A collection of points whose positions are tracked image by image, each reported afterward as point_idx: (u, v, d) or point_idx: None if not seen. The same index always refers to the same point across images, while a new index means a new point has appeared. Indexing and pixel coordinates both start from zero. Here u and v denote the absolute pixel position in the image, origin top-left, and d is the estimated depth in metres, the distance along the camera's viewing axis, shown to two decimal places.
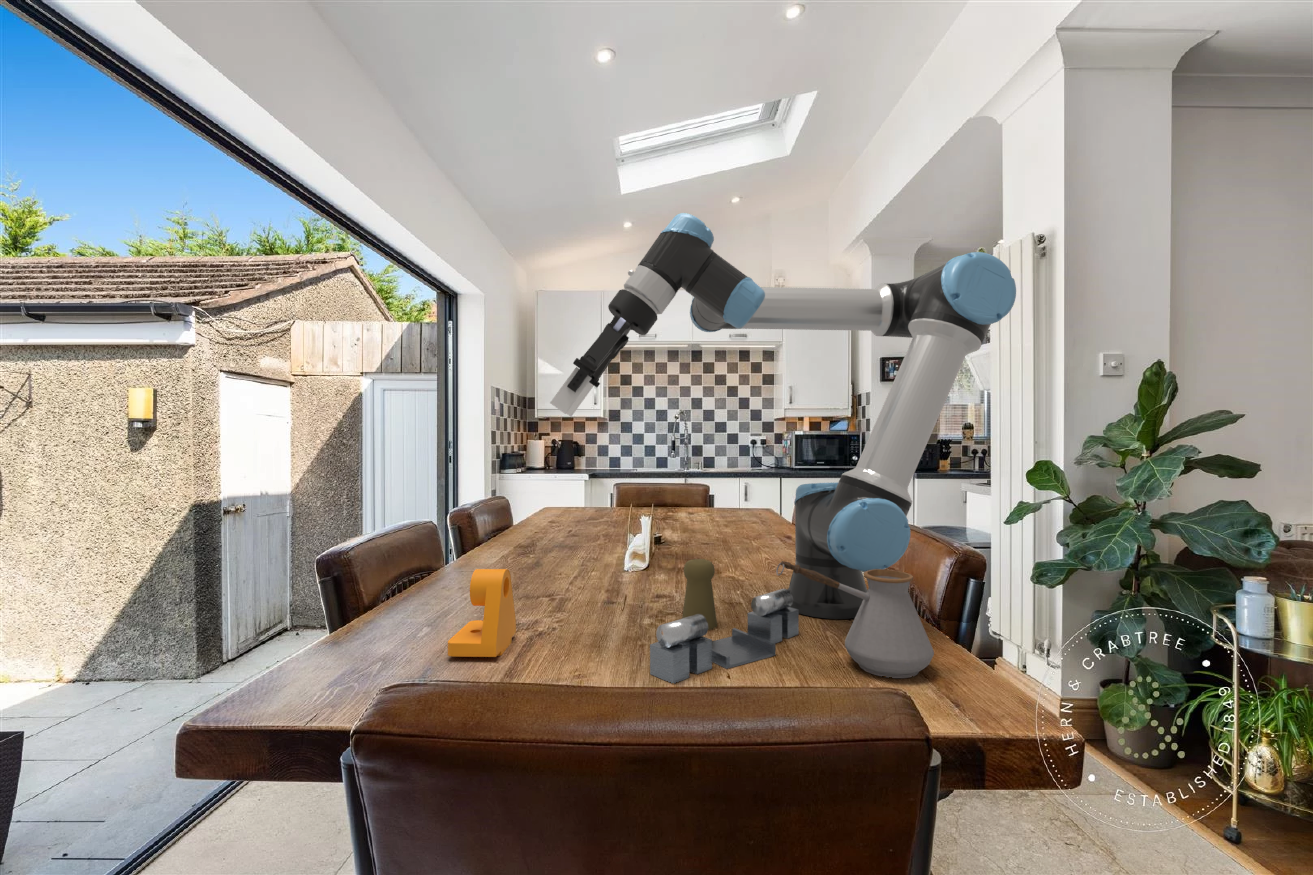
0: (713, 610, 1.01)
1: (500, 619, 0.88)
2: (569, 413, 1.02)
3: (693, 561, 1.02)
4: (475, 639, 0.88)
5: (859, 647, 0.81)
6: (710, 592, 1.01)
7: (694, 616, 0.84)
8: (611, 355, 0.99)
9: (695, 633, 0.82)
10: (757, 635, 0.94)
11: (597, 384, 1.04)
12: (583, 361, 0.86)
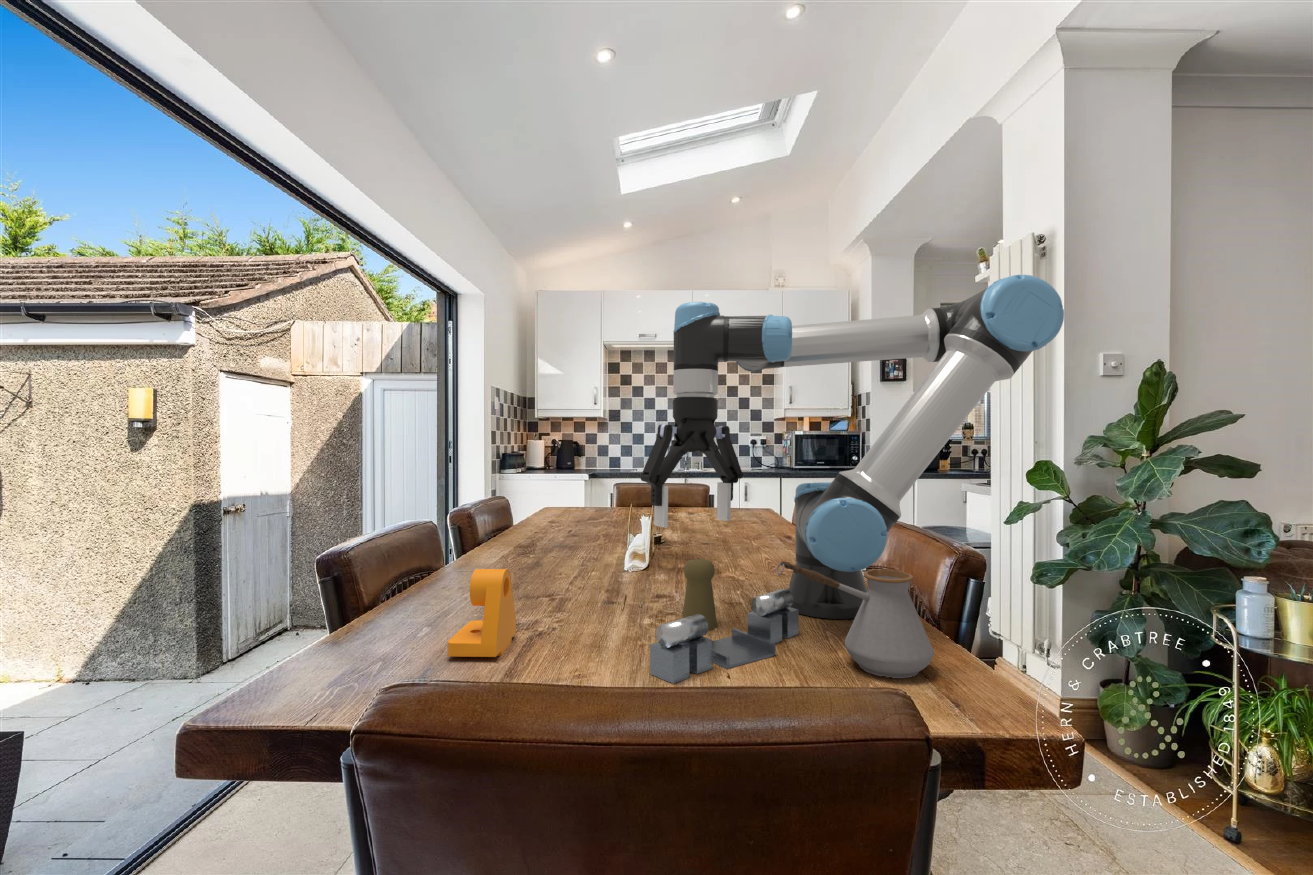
0: (713, 610, 1.01)
1: (500, 619, 0.88)
2: (725, 518, 1.05)
3: (693, 561, 1.02)
4: (475, 639, 0.88)
5: (859, 647, 0.81)
6: (710, 592, 1.01)
7: (694, 616, 0.84)
8: (711, 451, 1.03)
9: (695, 633, 0.82)
10: (757, 635, 0.94)
11: (734, 479, 1.05)
12: (642, 479, 0.97)
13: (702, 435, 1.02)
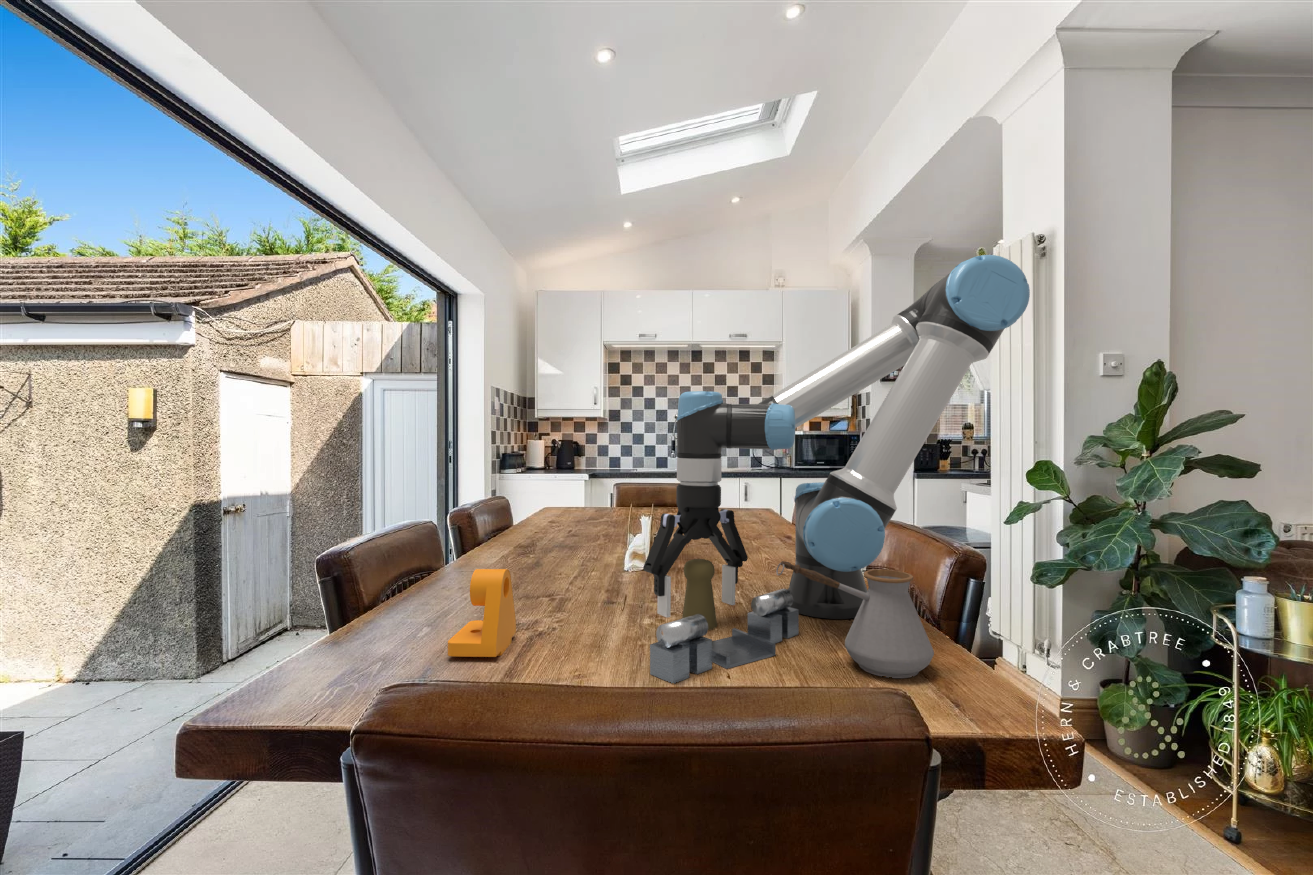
0: (713, 610, 1.01)
1: (500, 619, 0.88)
2: (729, 602, 1.05)
3: (693, 561, 1.02)
4: (475, 639, 0.88)
5: (859, 647, 0.81)
6: (710, 592, 1.01)
7: (694, 616, 0.84)
8: (715, 537, 1.03)
9: (695, 633, 0.82)
10: (757, 635, 0.94)
11: (738, 563, 1.05)
12: (645, 570, 0.98)
13: (705, 522, 1.02)
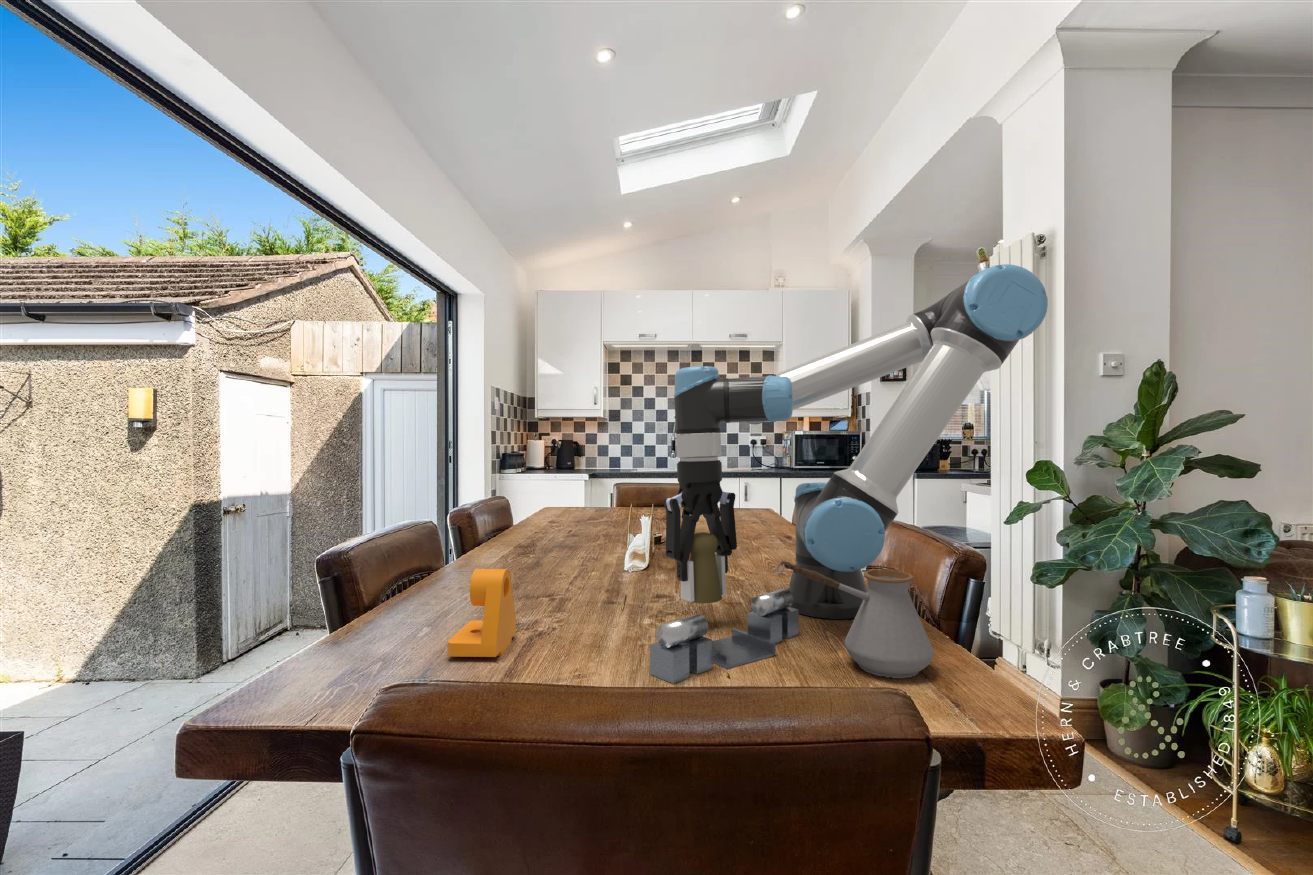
0: (717, 583, 1.01)
1: (500, 619, 0.88)
2: None
3: (696, 534, 1.02)
4: (475, 639, 0.88)
5: (859, 647, 0.81)
6: (714, 565, 1.01)
7: (694, 616, 0.84)
8: (712, 516, 1.03)
9: (695, 633, 0.82)
10: (757, 635, 0.94)
11: (727, 552, 1.03)
12: (667, 556, 0.99)
13: (708, 496, 1.02)
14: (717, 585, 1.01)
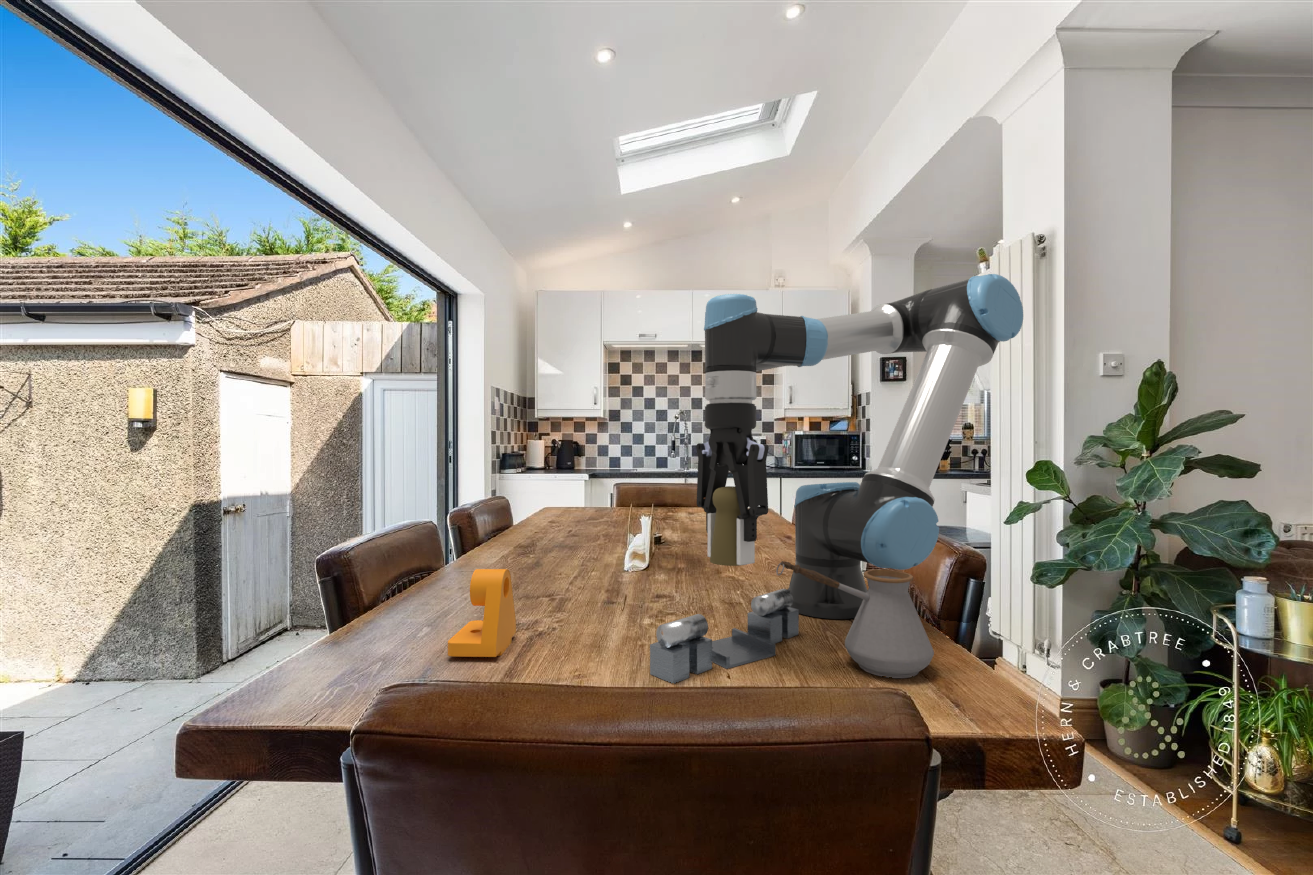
0: None
1: (500, 619, 0.88)
2: None
3: None
4: (475, 639, 0.88)
5: (859, 647, 0.81)
6: None
7: (694, 616, 0.84)
8: (728, 467, 0.91)
9: (695, 633, 0.82)
10: (757, 635, 0.94)
11: None
12: (757, 513, 0.84)
13: None
14: None
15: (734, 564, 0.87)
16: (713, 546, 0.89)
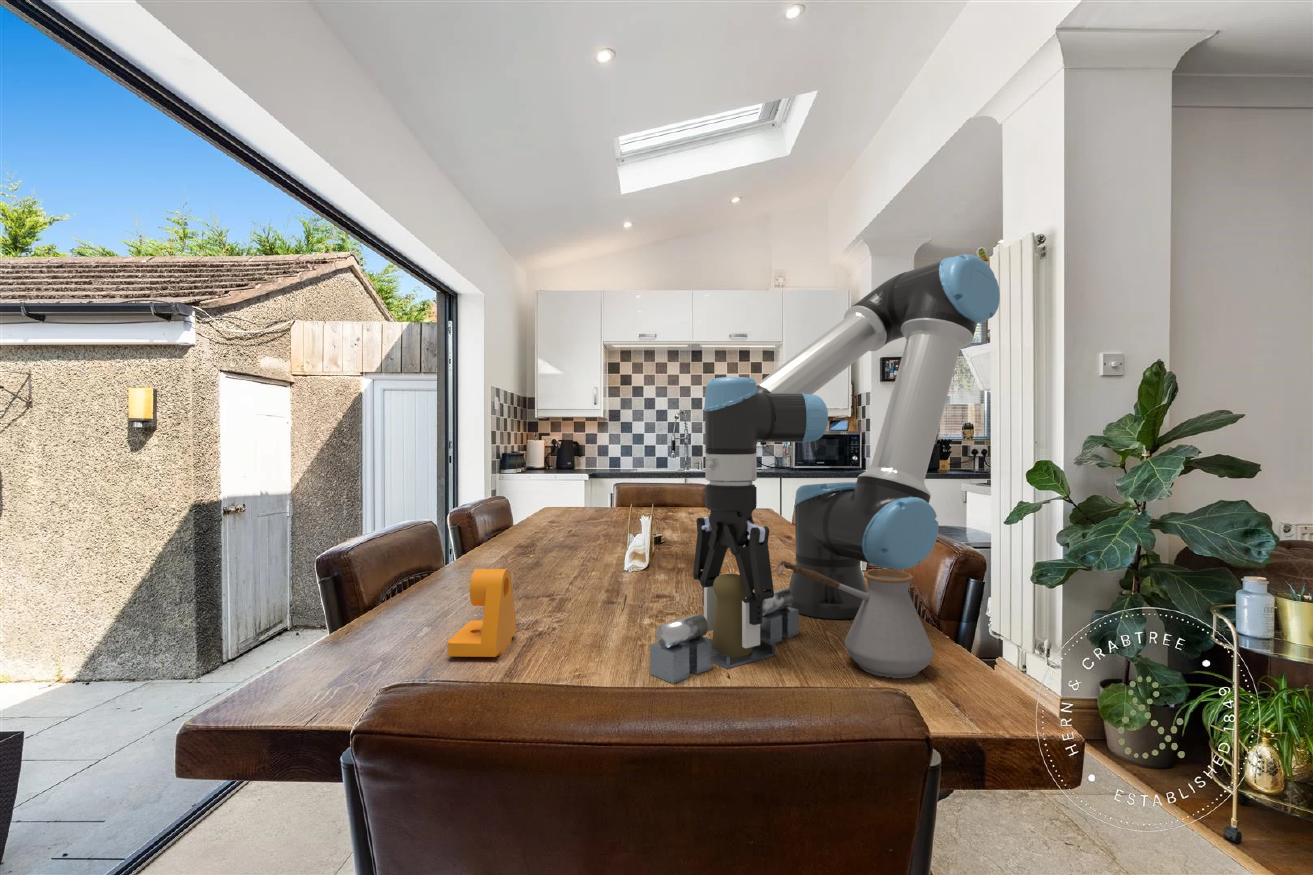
0: None
1: (500, 619, 0.88)
2: None
3: (736, 577, 0.88)
4: (475, 639, 0.88)
5: (859, 647, 0.81)
6: None
7: (694, 616, 0.84)
8: None
9: (695, 633, 0.82)
10: None
11: None
12: (763, 598, 0.83)
13: None
14: None
15: (735, 655, 0.87)
16: (714, 635, 0.89)
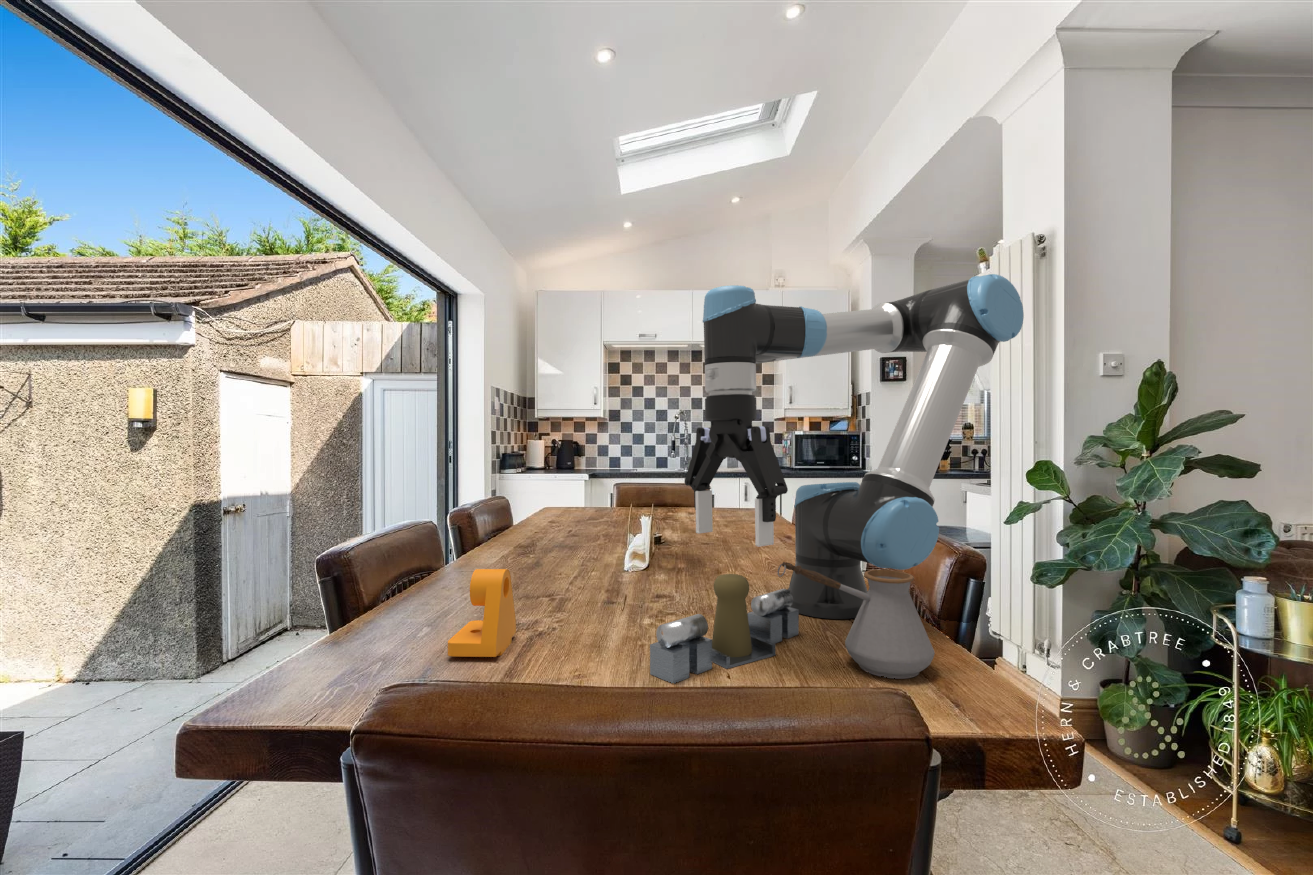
0: None
1: (500, 619, 0.88)
2: (710, 530, 0.95)
3: (737, 577, 0.89)
4: (475, 639, 0.88)
5: (860, 648, 0.81)
6: None
7: (694, 616, 0.84)
8: None
9: (695, 633, 0.82)
10: (757, 635, 0.94)
11: (708, 486, 0.97)
12: (777, 492, 0.81)
13: None
14: None
15: (735, 655, 0.87)
16: (714, 635, 0.89)
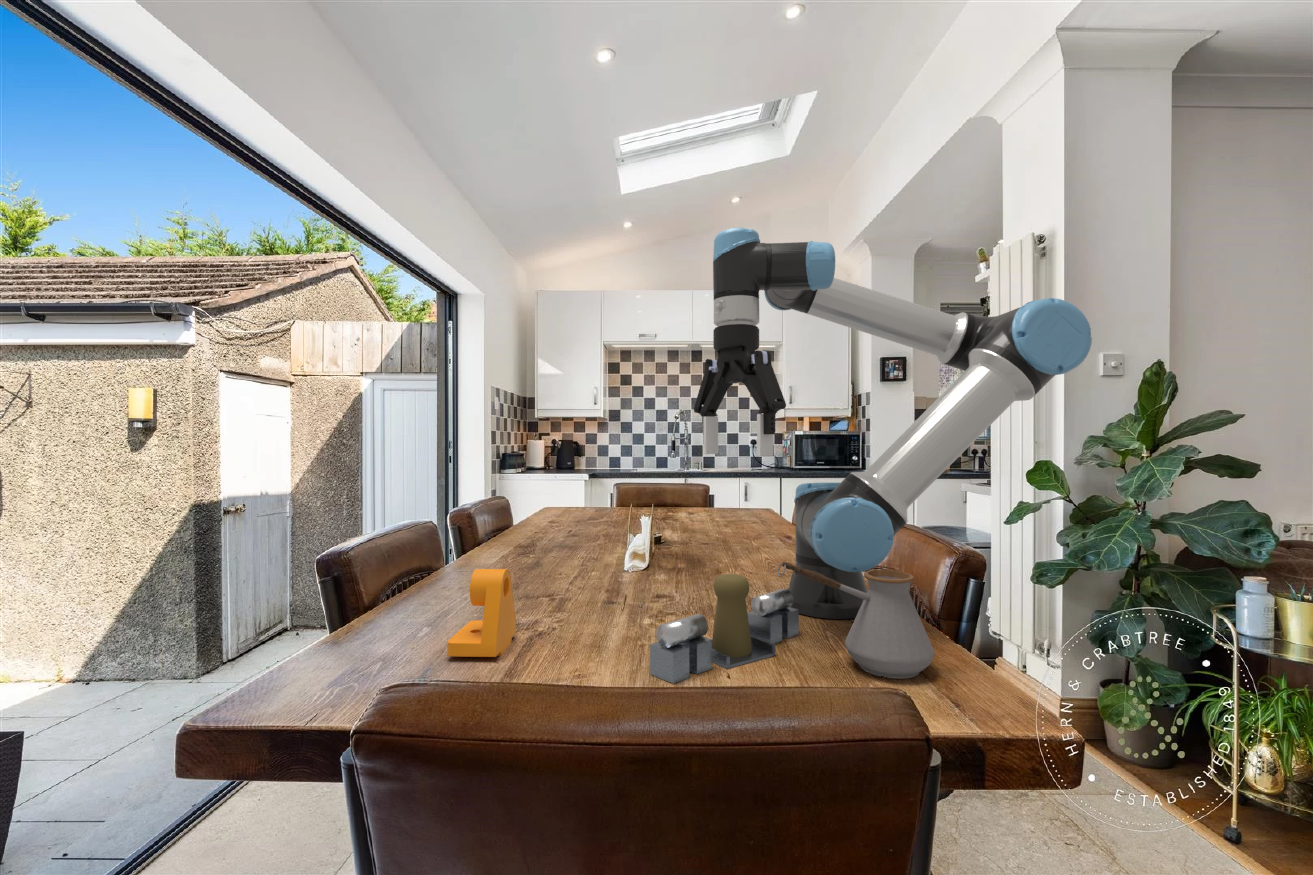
0: None
1: (500, 619, 0.88)
2: (716, 451, 1.06)
3: (737, 577, 0.89)
4: (475, 639, 0.88)
5: (860, 648, 0.81)
6: None
7: (694, 616, 0.84)
8: (729, 383, 1.03)
9: (695, 633, 0.82)
10: (757, 635, 0.94)
11: (715, 413, 1.08)
12: (776, 406, 0.92)
13: None
14: None
15: (735, 655, 0.87)
16: (714, 635, 0.89)
